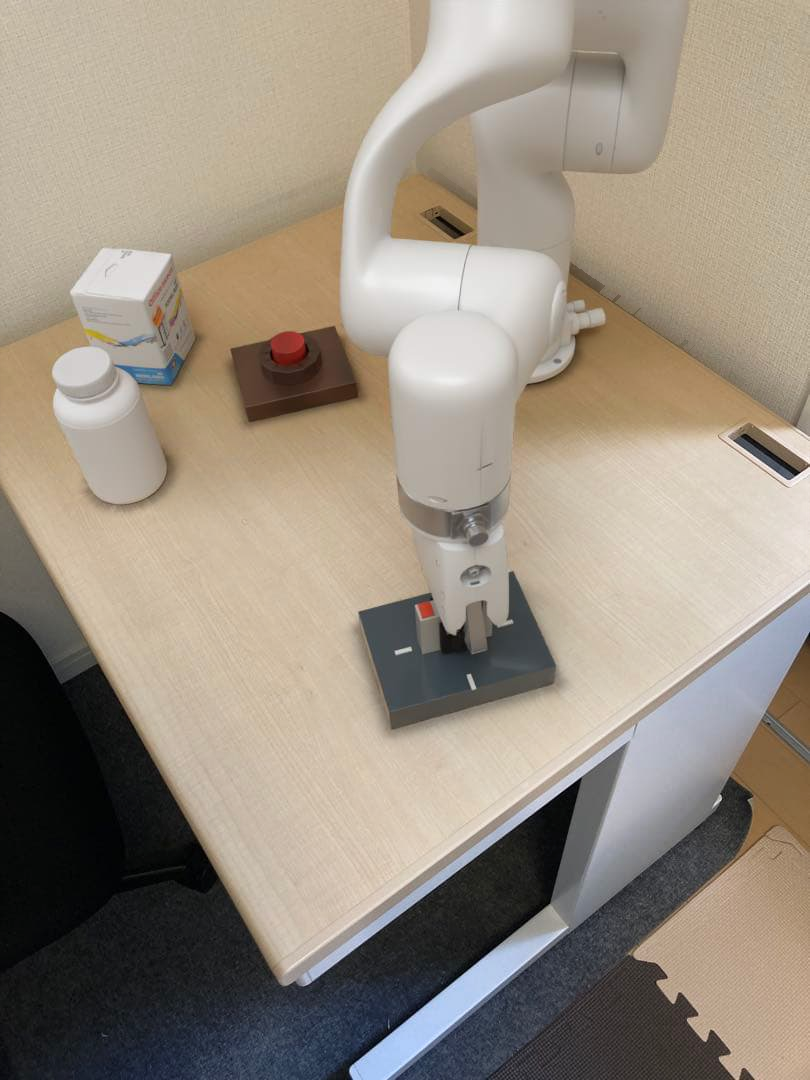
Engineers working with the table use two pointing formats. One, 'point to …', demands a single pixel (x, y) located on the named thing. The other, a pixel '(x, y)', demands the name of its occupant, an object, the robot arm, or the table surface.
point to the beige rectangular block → (435, 626)
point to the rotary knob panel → (452, 661)
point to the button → (288, 348)
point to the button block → (294, 376)
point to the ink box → (135, 313)
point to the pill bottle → (107, 426)
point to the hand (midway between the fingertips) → (455, 634)
